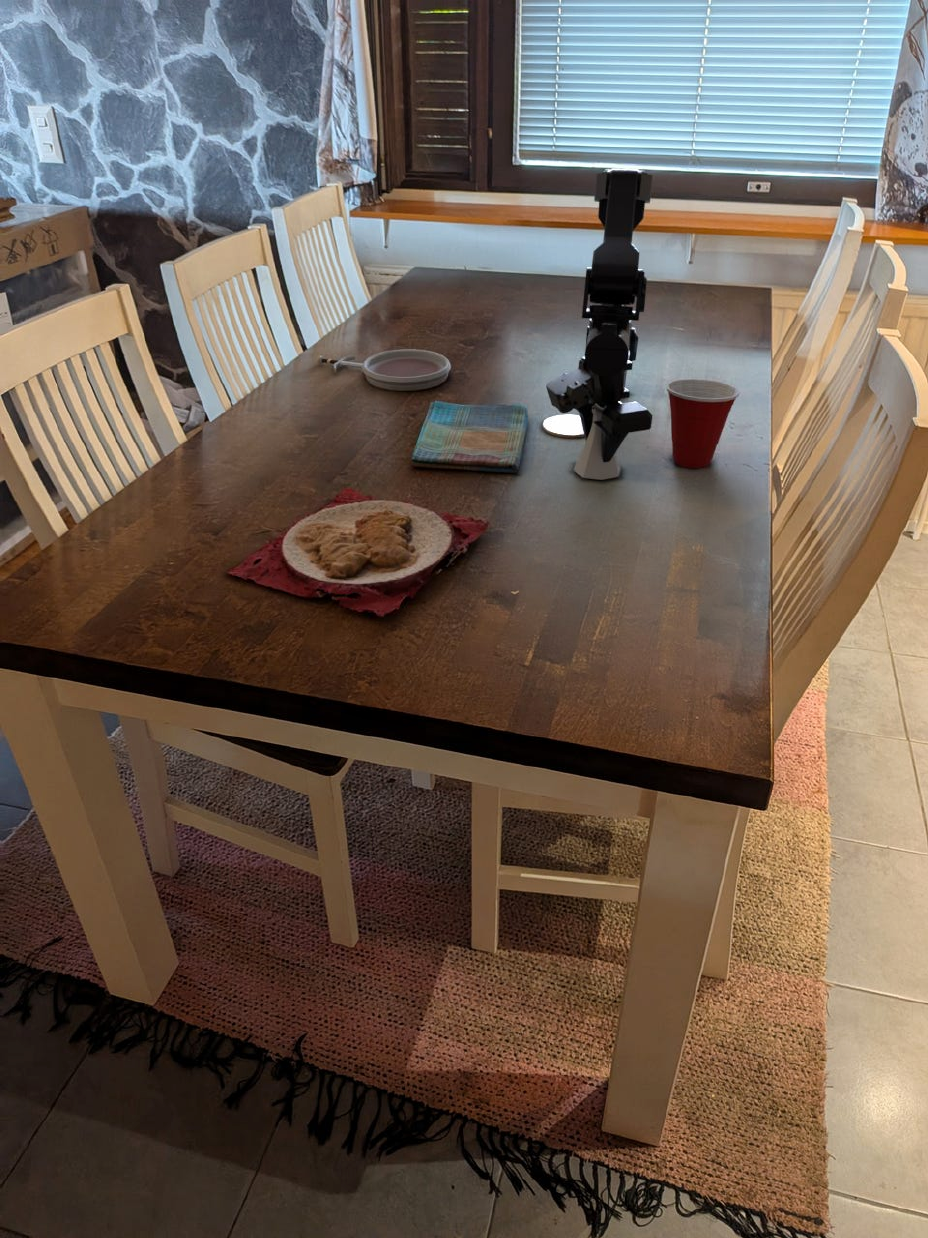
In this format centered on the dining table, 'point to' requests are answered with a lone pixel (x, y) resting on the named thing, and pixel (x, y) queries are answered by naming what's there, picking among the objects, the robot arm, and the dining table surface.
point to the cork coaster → (564, 426)
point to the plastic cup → (698, 418)
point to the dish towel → (472, 437)
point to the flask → (596, 455)
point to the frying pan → (400, 369)
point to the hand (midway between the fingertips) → (598, 455)
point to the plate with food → (361, 551)
